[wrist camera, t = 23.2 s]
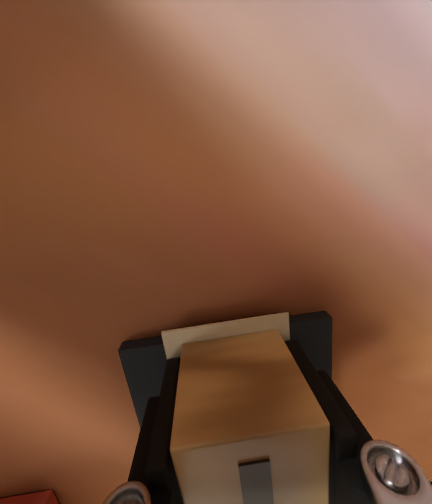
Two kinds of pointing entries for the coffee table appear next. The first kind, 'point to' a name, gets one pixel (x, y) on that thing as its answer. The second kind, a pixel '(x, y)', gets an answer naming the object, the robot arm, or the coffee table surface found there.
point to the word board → (170, 343)
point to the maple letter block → (247, 425)
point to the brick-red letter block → (32, 498)
